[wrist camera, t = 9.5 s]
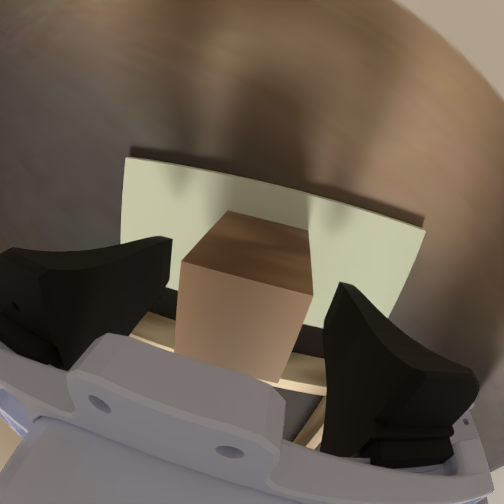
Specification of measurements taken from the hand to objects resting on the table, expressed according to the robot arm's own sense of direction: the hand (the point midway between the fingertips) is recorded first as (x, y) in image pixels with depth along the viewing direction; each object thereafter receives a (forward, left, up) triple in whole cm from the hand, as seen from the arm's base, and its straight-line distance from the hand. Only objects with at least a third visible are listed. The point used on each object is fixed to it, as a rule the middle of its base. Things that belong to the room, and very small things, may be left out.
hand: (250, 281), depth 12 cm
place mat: (0, 0, -3) cm, 3 cm away
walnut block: (0, 0, -3) cm, 3 cm away
